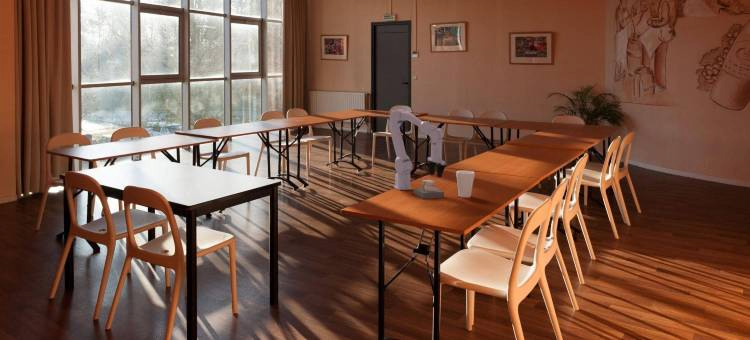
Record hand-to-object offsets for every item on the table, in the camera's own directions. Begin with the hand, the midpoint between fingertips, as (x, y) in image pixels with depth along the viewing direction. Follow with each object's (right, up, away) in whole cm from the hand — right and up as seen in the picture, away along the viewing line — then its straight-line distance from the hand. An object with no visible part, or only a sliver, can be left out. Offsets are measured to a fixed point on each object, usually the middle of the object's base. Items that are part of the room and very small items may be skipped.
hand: (435, 176), depth 356 cm
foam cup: (+15, -11, -4) cm, 19 cm away
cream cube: (-4, -7, -5) cm, 10 cm away
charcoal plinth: (-4, -10, -4) cm, 12 cm away
